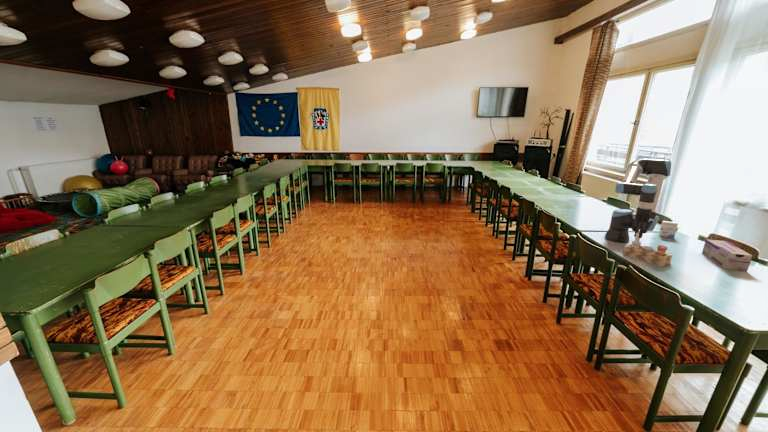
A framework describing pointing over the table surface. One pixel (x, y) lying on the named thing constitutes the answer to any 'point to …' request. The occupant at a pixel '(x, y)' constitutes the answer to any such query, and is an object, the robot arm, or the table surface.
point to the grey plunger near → (636, 244)
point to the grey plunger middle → (648, 248)
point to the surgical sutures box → (727, 255)
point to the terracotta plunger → (661, 250)
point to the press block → (647, 255)
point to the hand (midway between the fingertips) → (636, 241)
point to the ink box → (668, 229)
